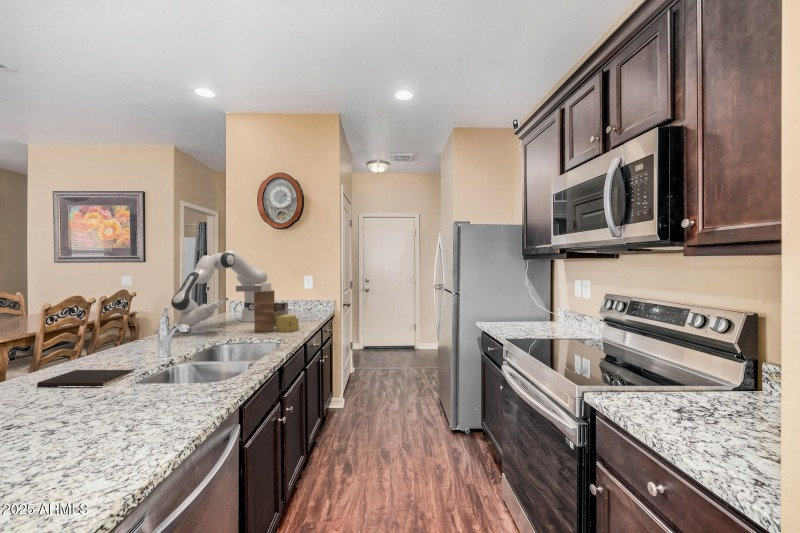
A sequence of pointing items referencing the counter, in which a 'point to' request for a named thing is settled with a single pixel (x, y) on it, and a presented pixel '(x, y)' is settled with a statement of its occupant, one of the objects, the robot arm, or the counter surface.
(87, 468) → the counter surface
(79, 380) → the hardcover book
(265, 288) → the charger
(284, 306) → the coffee box
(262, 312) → the stand
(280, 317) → the cheese
